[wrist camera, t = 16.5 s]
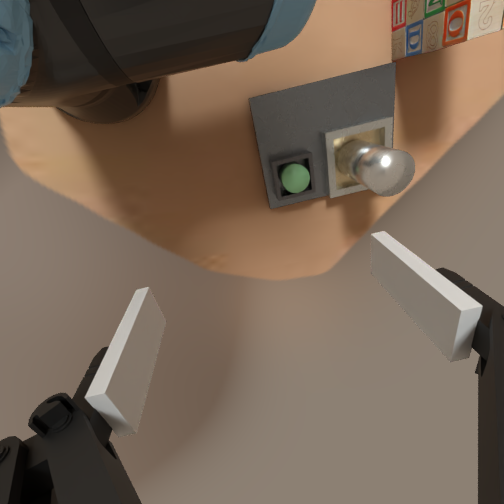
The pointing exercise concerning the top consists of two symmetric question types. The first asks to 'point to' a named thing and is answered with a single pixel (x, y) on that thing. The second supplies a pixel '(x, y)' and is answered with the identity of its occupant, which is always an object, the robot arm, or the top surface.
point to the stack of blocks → (441, 23)
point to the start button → (294, 177)
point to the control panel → (322, 129)
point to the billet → (377, 166)
